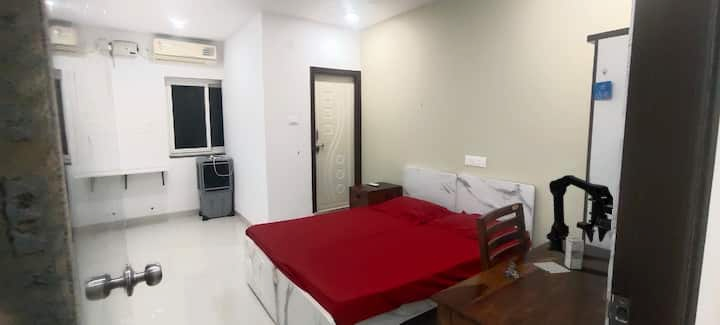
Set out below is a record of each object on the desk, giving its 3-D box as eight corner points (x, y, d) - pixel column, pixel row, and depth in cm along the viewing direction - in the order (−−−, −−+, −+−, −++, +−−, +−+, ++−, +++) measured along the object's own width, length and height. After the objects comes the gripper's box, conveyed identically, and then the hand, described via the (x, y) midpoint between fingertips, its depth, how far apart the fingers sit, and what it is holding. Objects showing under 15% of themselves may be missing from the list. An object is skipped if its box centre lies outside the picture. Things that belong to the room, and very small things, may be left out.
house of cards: (492, 275, 165) (492, 259, 164) (507, 273, 167) (508, 257, 166) (505, 283, 156) (506, 267, 155) (521, 281, 159) (522, 264, 158)
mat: (533, 264, 177) (533, 263, 177) (553, 262, 179) (553, 261, 179) (550, 274, 166) (550, 273, 165) (571, 272, 168) (571, 271, 167)
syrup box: (576, 265, 176) (578, 236, 174) (582, 269, 170) (584, 240, 169) (564, 264, 177) (566, 236, 175) (569, 269, 171) (571, 240, 169)
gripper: (595, 216, 163) (593, 249, 165) (629, 214, 166) (626, 246, 168) (576, 210, 174) (574, 241, 176) (609, 208, 177) (606, 238, 179)
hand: (595, 242), depth 174 cm, fingers open, 5 cm apart
